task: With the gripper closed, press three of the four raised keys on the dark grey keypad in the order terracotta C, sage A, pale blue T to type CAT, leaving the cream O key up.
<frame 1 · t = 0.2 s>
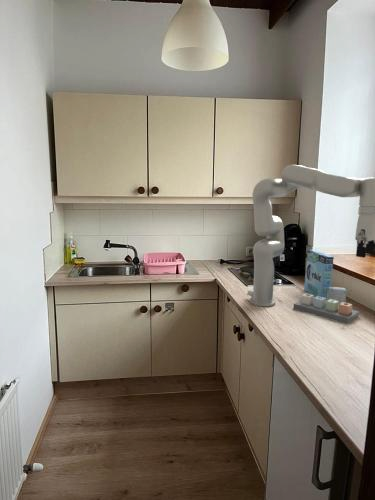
hand: (365, 255, 133), 30 cm above the worktop, tool pointing down, fingers open, 9 cm apart
key A: (332, 305, 153), point 4 cm above the worktop, slide at 0.0 cm
key O: (307, 299, 161), point 4 cm above the worktop, slide at 0.0 cm
medicine box: (335, 305, 166), on the worktop
key T: (319, 302, 157), point 4 cm above the worktop, slide at 0.0 cm
key C: (345, 308, 149), point 4 cm above the worktop, slide at 0.0 cm
gum box: (316, 295, 181), on the worktop
keypad board: (325, 312, 156), on the worktop
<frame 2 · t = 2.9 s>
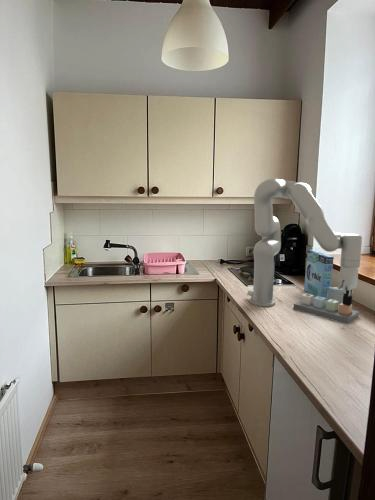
hand: (347, 304, 149), 6 cm above the worktop, tool pointing down, fingers closed
key C: (345, 308, 149), point 4 cm above the worktop, slide at 0.2 cm, touching gripper
everything else where it was.
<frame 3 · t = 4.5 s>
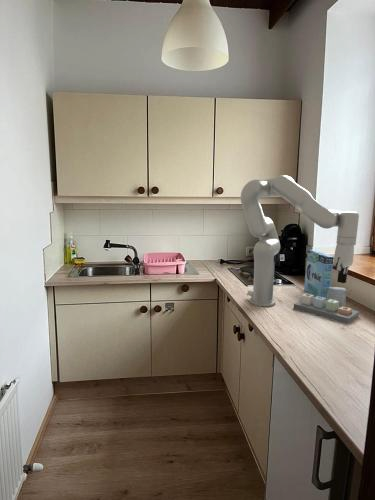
hand: (341, 282, 149), 16 cm above the worktop, tool pointing down, fingers closed
key C: (345, 312, 150), point 2 cm above the worktop, slide at 2.0 cm
everything else where it was.
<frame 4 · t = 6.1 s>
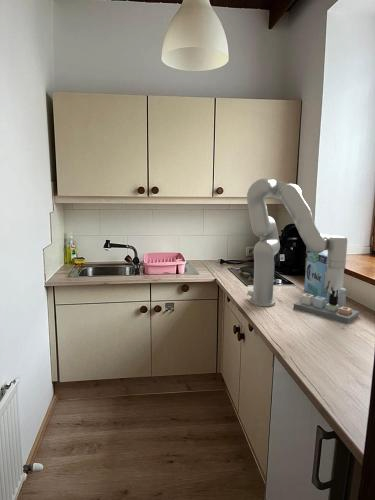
hand: (333, 304, 153), 5 cm above the worktop, tool pointing down, fingers closed
key A: (331, 308, 154), point 3 cm above the worktop, slide at 1.7 cm
everything else where it was.
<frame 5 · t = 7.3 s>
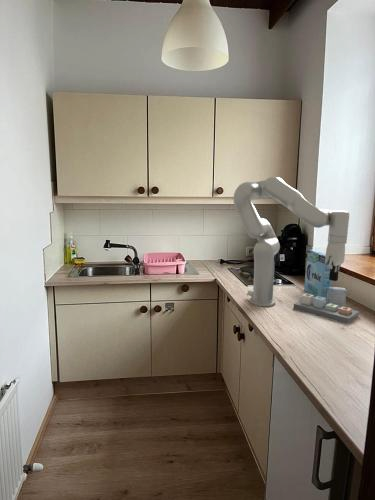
hand: (333, 280, 151), 16 cm above the worktop, tool pointing down, fingers closed
key A: (331, 309, 154), point 2 cm above the worktop, slide at 2.0 cm
everything else where it was.
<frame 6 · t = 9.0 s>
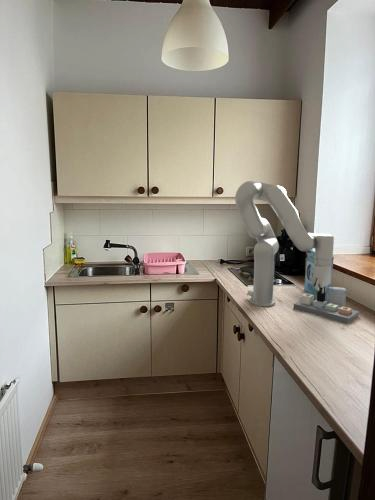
hand: (320, 300, 157), 5 cm above the worktop, tool pointing down, fingers closed
key T: (319, 305, 158), point 3 cm above the worktop, slide at 1.5 cm
everything else where it was.
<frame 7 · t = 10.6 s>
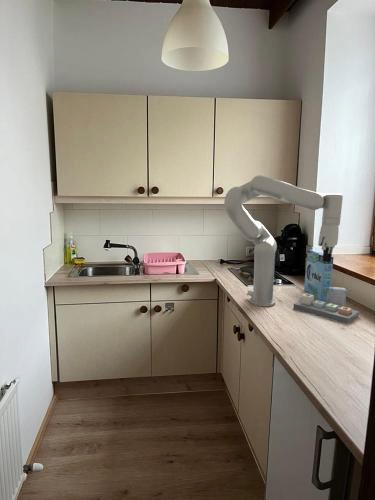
hand: (326, 261, 156), 23 cm above the worktop, tool pointing down, fingers closed
key T: (319, 306, 158), point 2 cm above the worktop, slide at 2.0 cm
everything else where it was.
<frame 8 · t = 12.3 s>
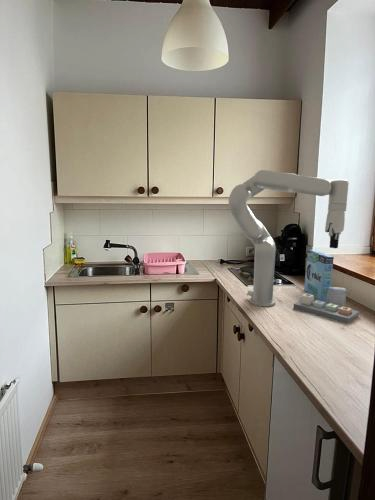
hand: (333, 247, 157), 29 cm above the worktop, tool pointing down, fingers closed
nothing on the worktop moved.
at the end: key C slide at 2.0 cm; key A slide at 2.0 cm; key T slide at 2.0 cm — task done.
